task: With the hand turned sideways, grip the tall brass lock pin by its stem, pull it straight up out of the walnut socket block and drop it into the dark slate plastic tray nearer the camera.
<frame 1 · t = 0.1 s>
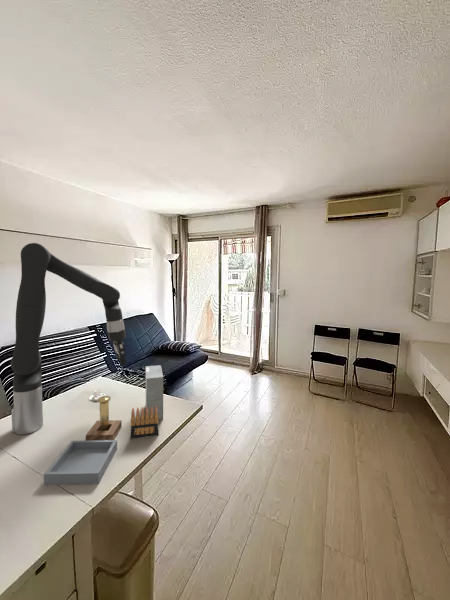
hand: (121, 361, 123), 22 cm above the table, tool pointing down, fingers open, 8 cm apart
lock pin: (104, 416, 102), in the socket block
socket block: (104, 434, 103), on the table
slate tray: (84, 465, 86), on the table
ammunition clip: (144, 436, 103), on the table
white rounded piece: (91, 400, 132), on the table
hard drive box: (154, 412, 121), on the table
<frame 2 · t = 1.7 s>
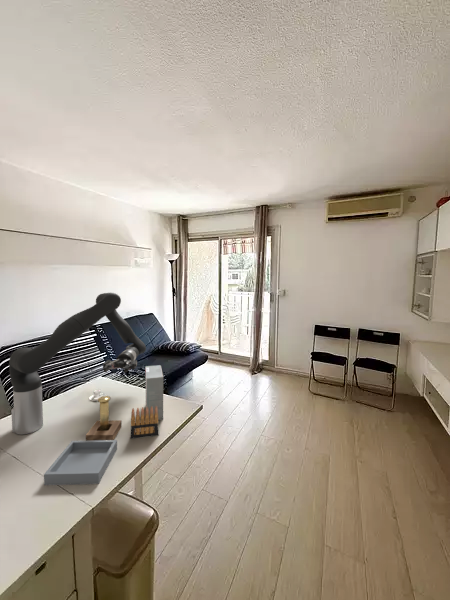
hand: (115, 370, 113), 22 cm above the table, tool horizontal, fingers open, 8 cm apart
nothing on the table moved.
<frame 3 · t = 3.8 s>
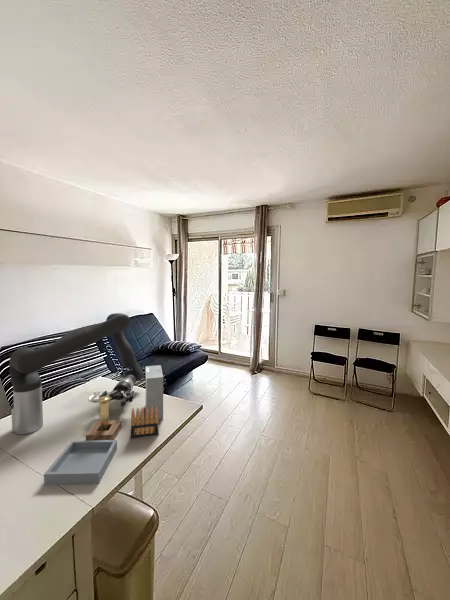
hand: (111, 404, 110), 8 cm above the table, tool horizontal, fingers open, 8 cm apart
nothing on the table moved.
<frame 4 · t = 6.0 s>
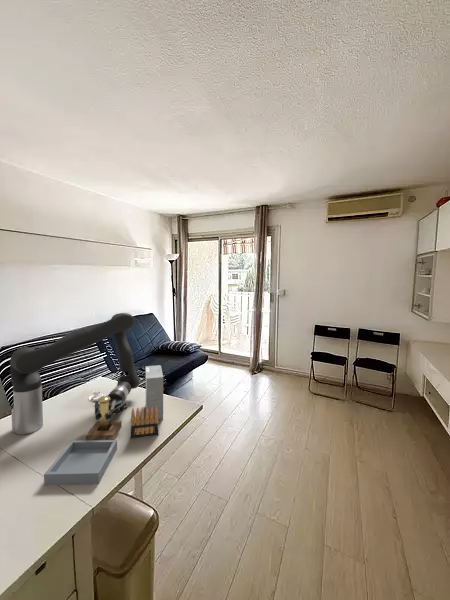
hand: (102, 417, 100), 9 cm above the table, tool horizontal, fingers closed on lock pin, 3 cm apart
lock pin: (104, 416, 102), in the socket block, touching gripper
everything else where it was.
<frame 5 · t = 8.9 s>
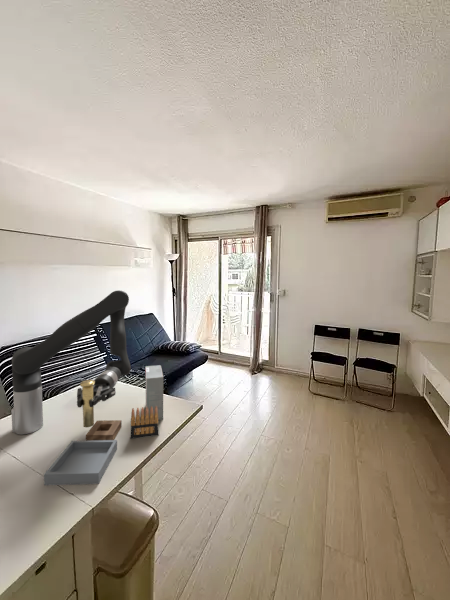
hand: (85, 404, 85), 21 cm above the table, tool horizontal, fingers closed on lock pin, 3 cm apart
lock pin: (88, 403, 87), point 20 cm above the table, touching gripper
everything else where it was.
when the fingers open (11 cm above the table, at t = 11.4 s): lock pin drops 1 cm, resting on slate tray.
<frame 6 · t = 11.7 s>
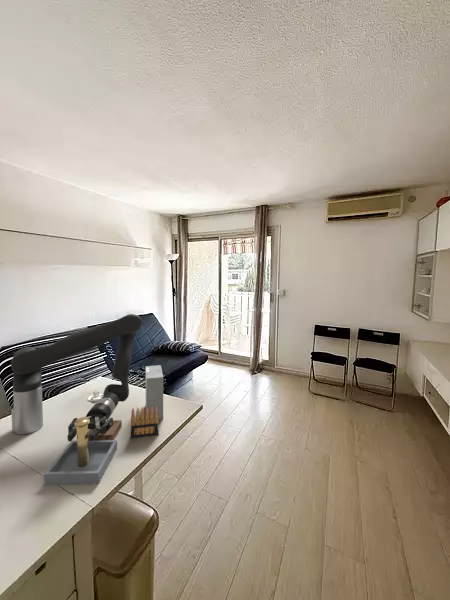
hand: (80, 438, 83), 11 cm above the table, tool horizontal, fingers open, 6 cm apart
lock pin: (82, 442, 85), in the slate tray, point 8 cm above the table
everything else where it was.
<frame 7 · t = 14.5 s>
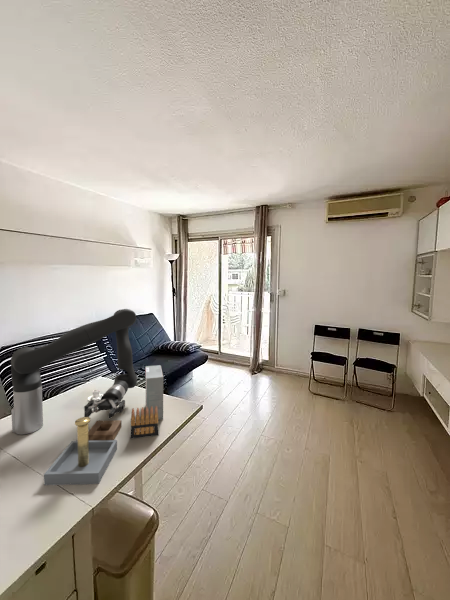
hand: (97, 416, 96), 11 cm above the table, tool horizontal, fingers open, 8 cm apart
nothing on the table moved.
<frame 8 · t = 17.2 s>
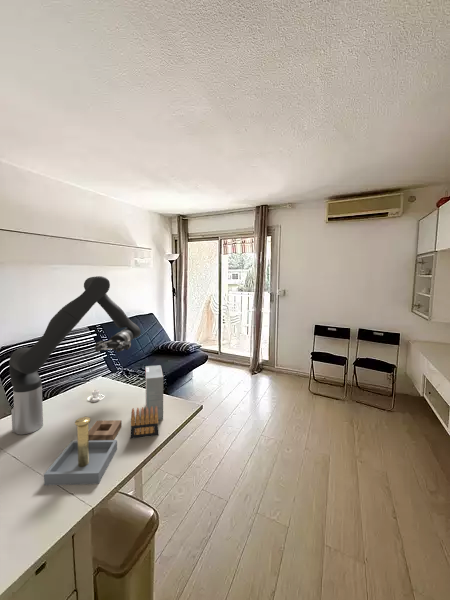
hand: (107, 349, 109), 32 cm above the table, tool horizontal, fingers open, 8 cm apart
nothing on the table moved.
at the end: lock pin inside the target area on the slate tray (0.4 cm from its centre), point 8.5 cm above the slate tray's base; lock pin moved 17.5 cm from its start; the gripper is holding nothing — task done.
